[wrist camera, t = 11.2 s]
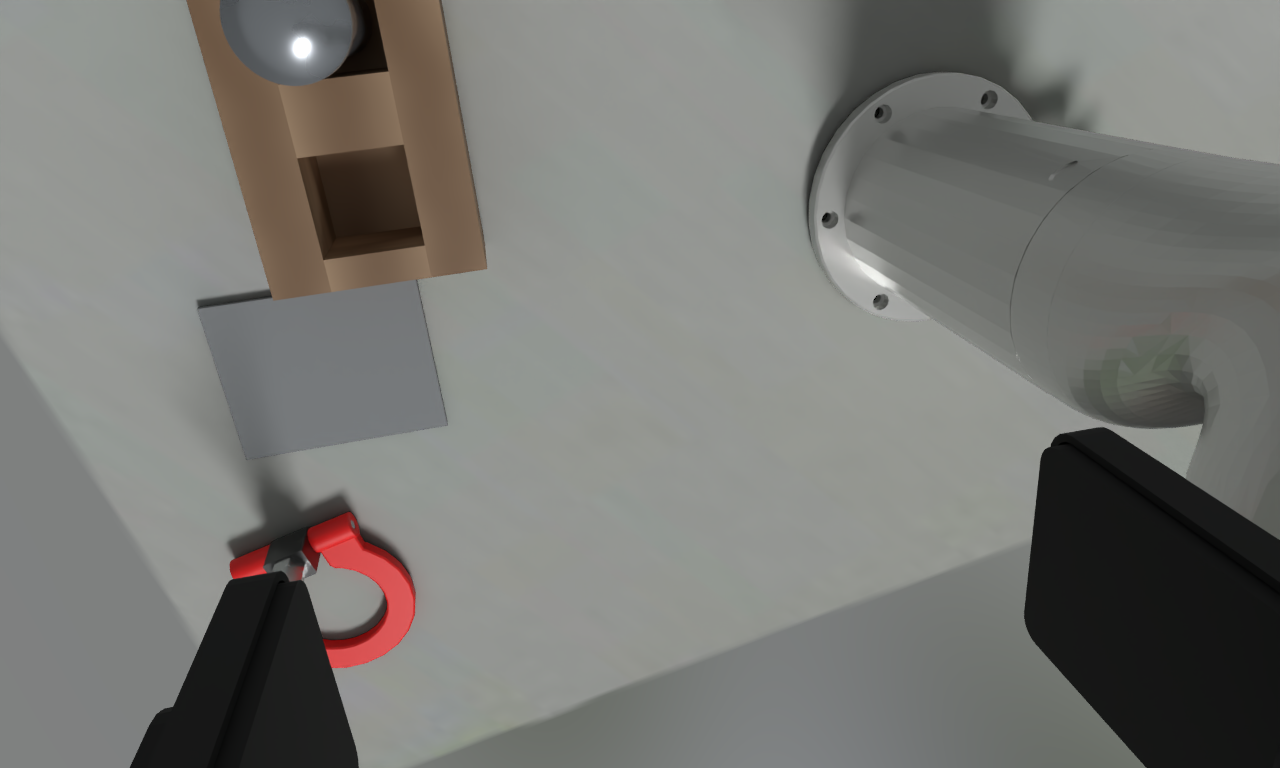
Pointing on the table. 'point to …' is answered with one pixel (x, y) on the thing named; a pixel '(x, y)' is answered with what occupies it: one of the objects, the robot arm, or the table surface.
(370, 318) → the mat
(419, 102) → the block
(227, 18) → the pin
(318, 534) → the tow hook
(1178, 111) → the table surface
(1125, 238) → the robot arm
